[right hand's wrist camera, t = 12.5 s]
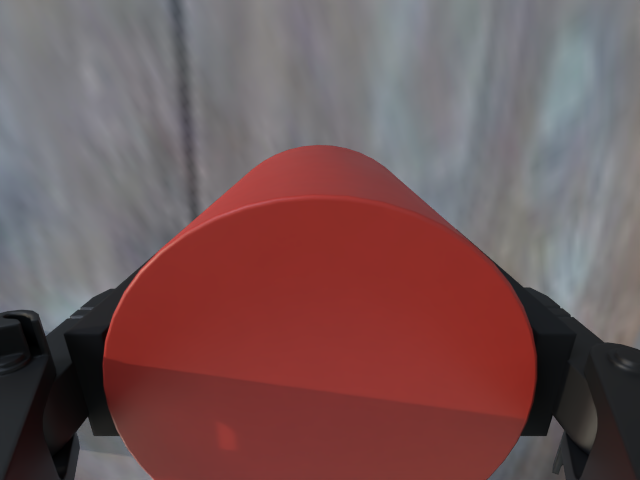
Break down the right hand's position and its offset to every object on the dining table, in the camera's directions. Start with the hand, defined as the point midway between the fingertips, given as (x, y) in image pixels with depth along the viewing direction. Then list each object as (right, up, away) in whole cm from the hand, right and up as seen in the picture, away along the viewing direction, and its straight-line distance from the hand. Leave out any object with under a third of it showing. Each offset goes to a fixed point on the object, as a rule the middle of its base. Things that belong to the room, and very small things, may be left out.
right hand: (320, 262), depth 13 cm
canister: (0, +1, +2) cm, 2 cm away
